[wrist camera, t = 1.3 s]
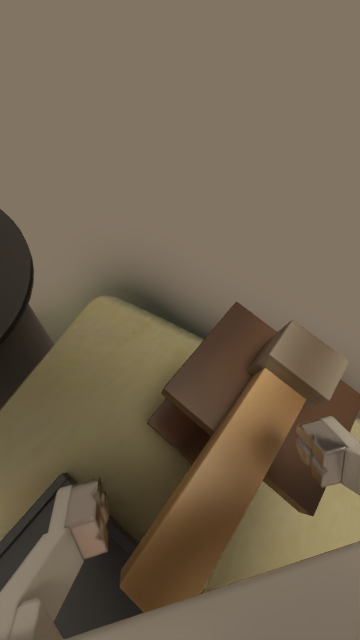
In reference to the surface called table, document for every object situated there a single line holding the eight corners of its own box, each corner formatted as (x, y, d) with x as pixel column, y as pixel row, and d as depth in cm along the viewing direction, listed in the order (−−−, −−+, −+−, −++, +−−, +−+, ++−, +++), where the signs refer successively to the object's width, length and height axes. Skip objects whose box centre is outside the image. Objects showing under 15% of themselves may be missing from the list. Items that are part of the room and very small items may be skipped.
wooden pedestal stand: (146, 422, 34) (163, 388, 18) (189, 370, 38) (236, 301, 22) (220, 488, 32) (313, 517, 16) (257, 426, 36) (365, 397, 20)
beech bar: (112, 563, 14) (107, 592, 11) (271, 335, 21) (296, 313, 18) (176, 628, 13) (191, 680, 10) (318, 371, 20) (352, 355, 17)
